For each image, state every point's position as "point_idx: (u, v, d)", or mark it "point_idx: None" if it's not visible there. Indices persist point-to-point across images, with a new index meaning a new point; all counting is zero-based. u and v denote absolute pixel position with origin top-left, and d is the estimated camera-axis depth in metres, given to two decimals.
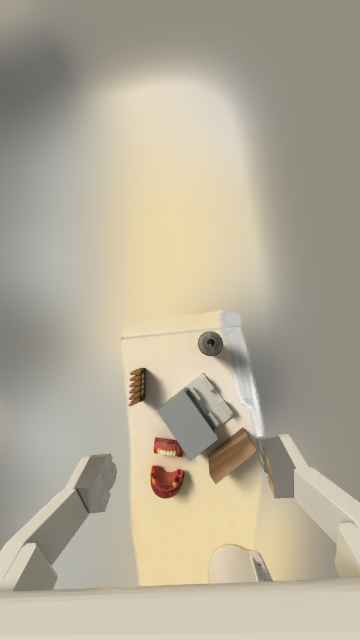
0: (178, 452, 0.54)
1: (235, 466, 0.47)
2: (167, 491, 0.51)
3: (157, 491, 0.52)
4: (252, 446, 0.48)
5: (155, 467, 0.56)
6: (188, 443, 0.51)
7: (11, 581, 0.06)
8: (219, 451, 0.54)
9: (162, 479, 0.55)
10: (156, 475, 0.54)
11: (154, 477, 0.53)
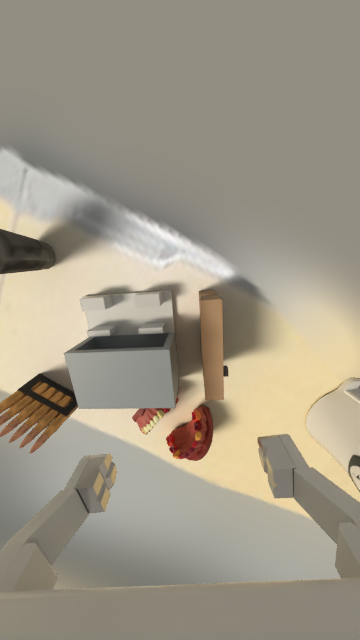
0: None
1: (220, 354, 0.23)
2: (199, 449, 0.32)
3: (191, 458, 0.33)
4: (210, 303, 0.21)
5: (170, 436, 0.36)
6: (149, 395, 0.28)
7: (11, 581, 0.06)
8: None
9: (188, 437, 0.36)
10: (177, 444, 0.35)
11: (175, 450, 0.34)
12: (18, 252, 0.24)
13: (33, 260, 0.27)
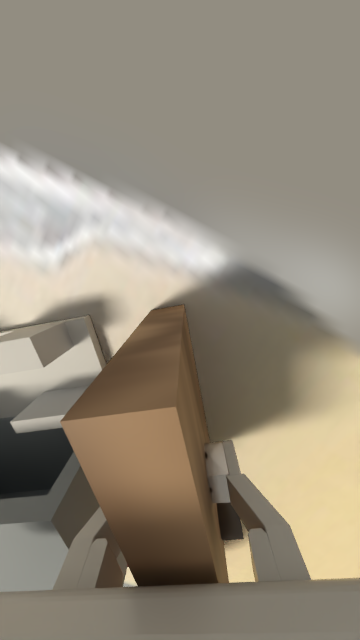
0: None
1: None
2: None
3: None
4: (113, 428, 0.04)
5: None
6: None
7: (90, 577, 0.06)
8: None
9: None
10: None
11: None
12: None
13: None
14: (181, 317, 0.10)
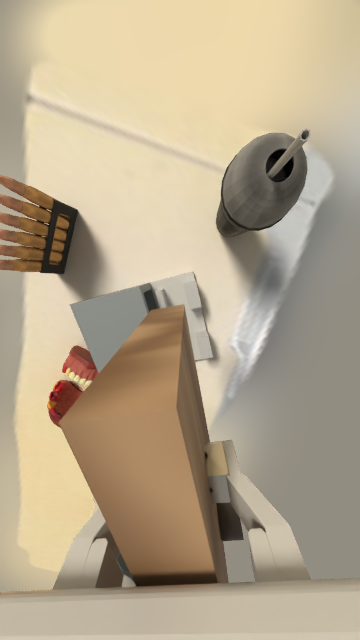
0: None
1: None
2: None
3: (53, 417, 0.32)
4: (113, 429, 0.04)
5: (62, 384, 0.34)
6: None
7: (90, 578, 0.06)
8: None
9: (69, 401, 0.35)
10: (59, 396, 0.33)
11: (53, 399, 0.32)
12: (245, 231, 0.22)
13: (232, 233, 0.24)
14: (181, 317, 0.10)
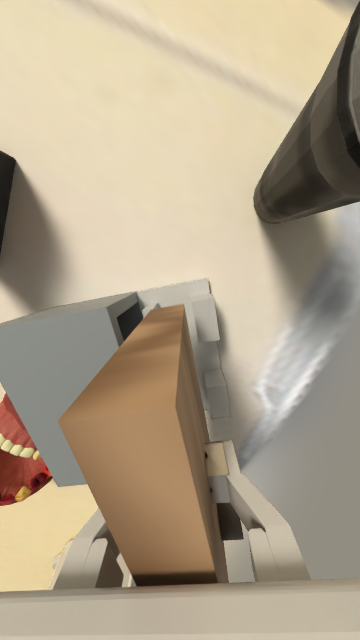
0: None
1: None
2: None
3: None
4: (112, 427, 0.04)
5: None
6: (66, 454, 0.16)
7: (90, 578, 0.06)
8: None
9: (10, 458, 0.24)
10: None
11: None
12: (336, 206, 0.10)
13: (294, 213, 0.13)
14: (181, 316, 0.10)
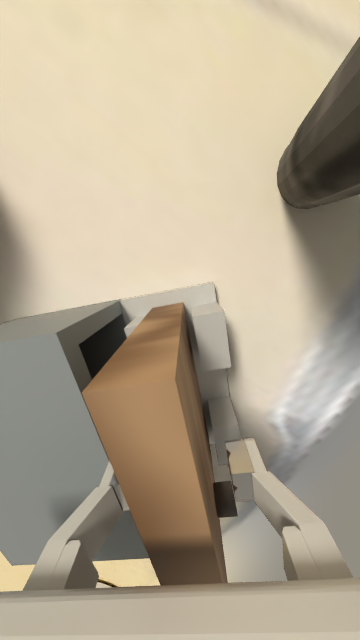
0: None
1: (204, 547, 0.06)
2: None
3: None
4: (125, 397, 0.05)
5: None
6: (17, 529, 0.11)
7: (60, 579, 0.06)
8: None
9: None
10: None
11: None
12: None
13: (351, 184, 0.08)
14: (180, 313, 0.11)
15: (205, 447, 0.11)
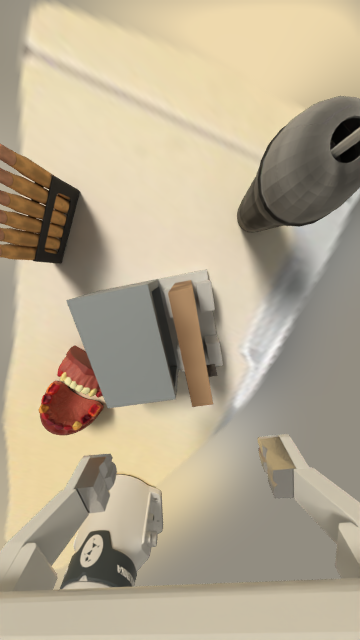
0: (101, 392, 0.28)
1: (201, 353, 0.19)
2: None
3: (44, 422, 0.30)
4: (179, 294, 0.18)
5: (56, 387, 0.32)
6: (115, 383, 0.24)
7: (11, 581, 0.06)
8: None
9: (63, 405, 0.32)
10: (52, 399, 0.31)
11: (46, 403, 0.30)
12: (276, 226, 0.19)
13: (258, 228, 0.21)
14: (190, 282, 0.24)
15: None
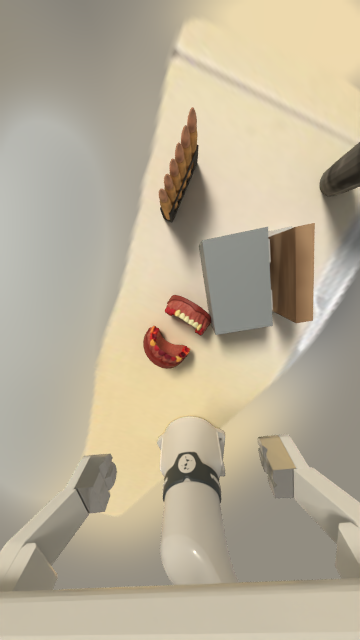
0: (203, 328, 0.35)
1: (311, 276, 0.26)
2: (165, 361, 0.36)
3: (151, 355, 0.36)
4: (303, 228, 0.24)
5: (157, 329, 0.38)
6: (226, 312, 0.31)
7: (11, 581, 0.06)
8: (274, 291, 0.34)
9: (160, 346, 0.39)
10: None
11: (154, 339, 0.36)
12: None
13: (347, 187, 0.28)
14: None
15: None
